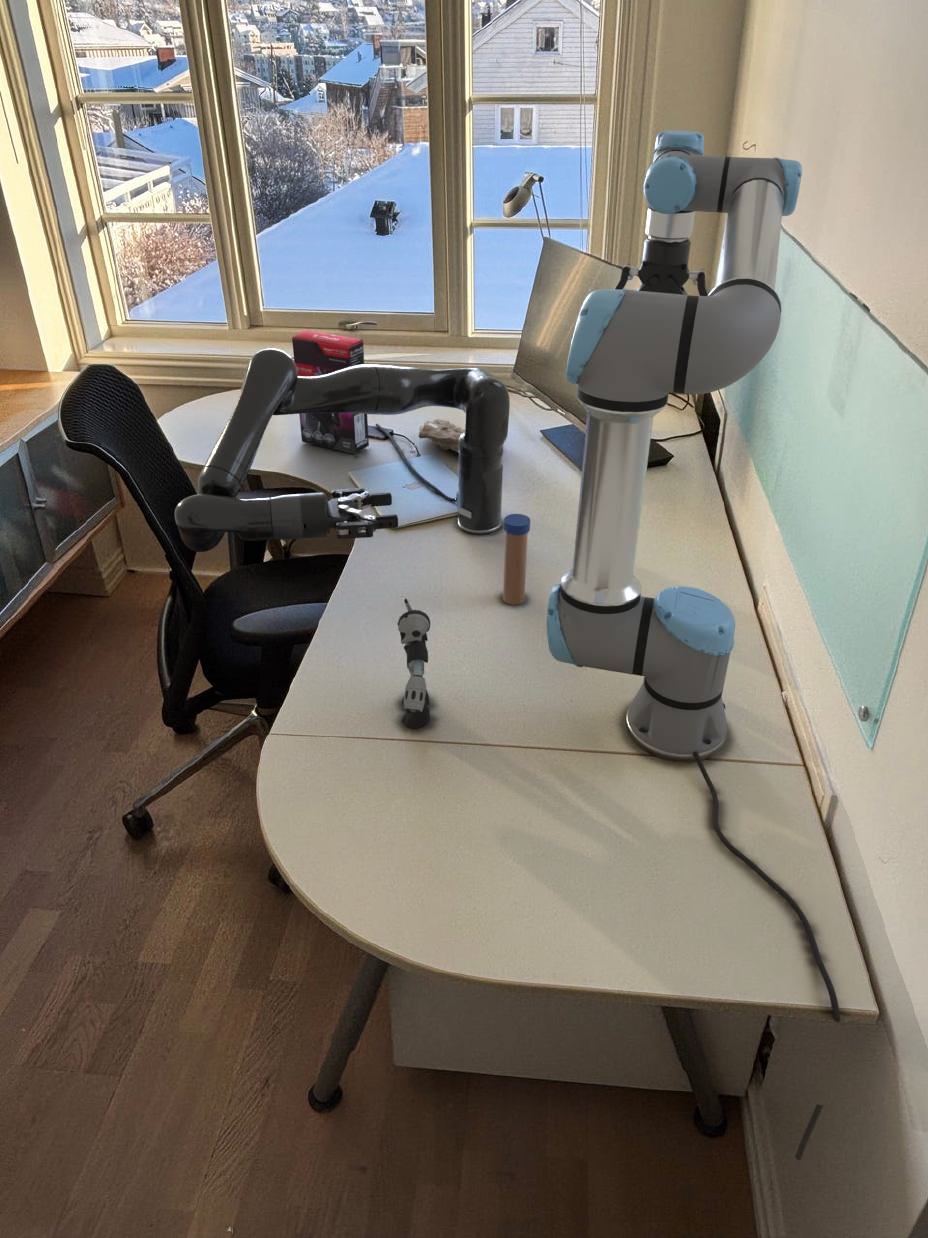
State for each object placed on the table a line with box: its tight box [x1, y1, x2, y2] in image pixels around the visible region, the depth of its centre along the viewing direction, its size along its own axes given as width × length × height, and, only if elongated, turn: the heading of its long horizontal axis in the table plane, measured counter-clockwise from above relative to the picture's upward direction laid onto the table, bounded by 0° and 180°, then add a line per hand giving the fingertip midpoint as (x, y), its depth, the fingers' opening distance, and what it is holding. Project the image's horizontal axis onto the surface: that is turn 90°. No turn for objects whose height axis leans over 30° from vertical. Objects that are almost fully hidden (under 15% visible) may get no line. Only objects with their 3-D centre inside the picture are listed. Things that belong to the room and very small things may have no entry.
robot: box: [396, 598, 431, 729], centre depth 141 cm, size 20×5×20 cm, turn 3°
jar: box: [502, 531, 529, 606], centre depth 170 cm, size 4×4×16 cm
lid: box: [503, 513, 531, 535], centre depth 165 cm, size 5×5×2 cm
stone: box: [418, 418, 465, 454], centre depth 230 cm, size 21×15×6 cm
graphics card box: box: [291, 329, 370, 455], centre depth 226 cm, size 17×7×27 cm, turn 62°
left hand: (394, 509), depth 158 cm, fingers open, 8 cm apart
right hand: (652, 364), depth 163 cm, fingers open, 13 cm apart
